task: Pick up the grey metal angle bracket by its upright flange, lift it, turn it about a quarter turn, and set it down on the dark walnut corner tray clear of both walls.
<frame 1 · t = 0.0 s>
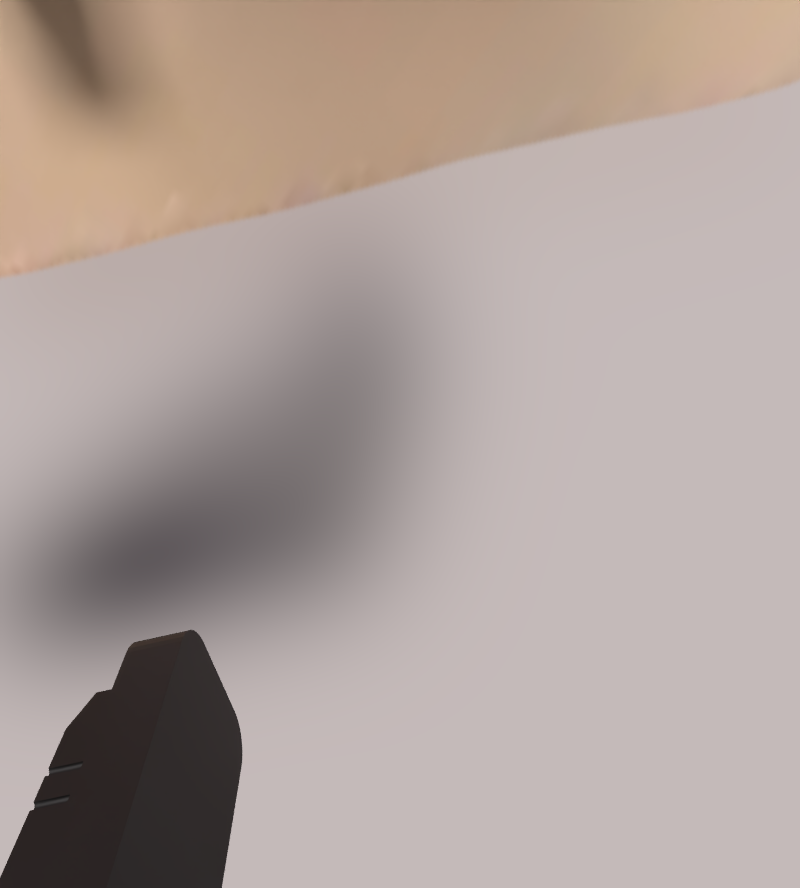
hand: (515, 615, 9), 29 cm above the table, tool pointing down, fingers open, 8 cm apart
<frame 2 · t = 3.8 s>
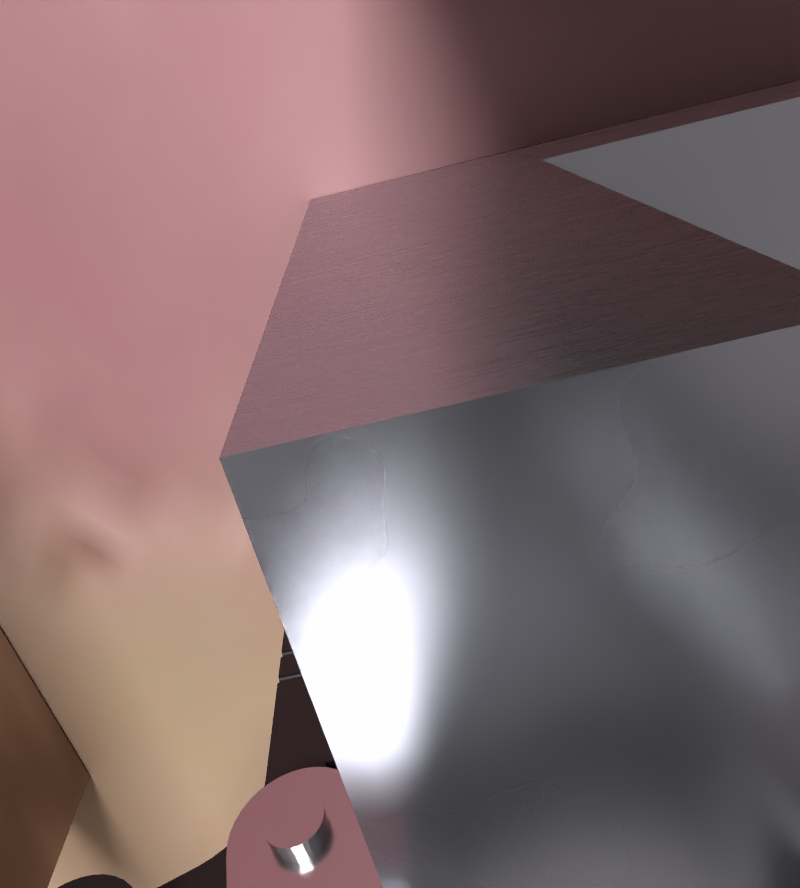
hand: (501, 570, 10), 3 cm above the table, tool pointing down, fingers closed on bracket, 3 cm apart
bracket: (474, 475, 13), on the table, touching gripper
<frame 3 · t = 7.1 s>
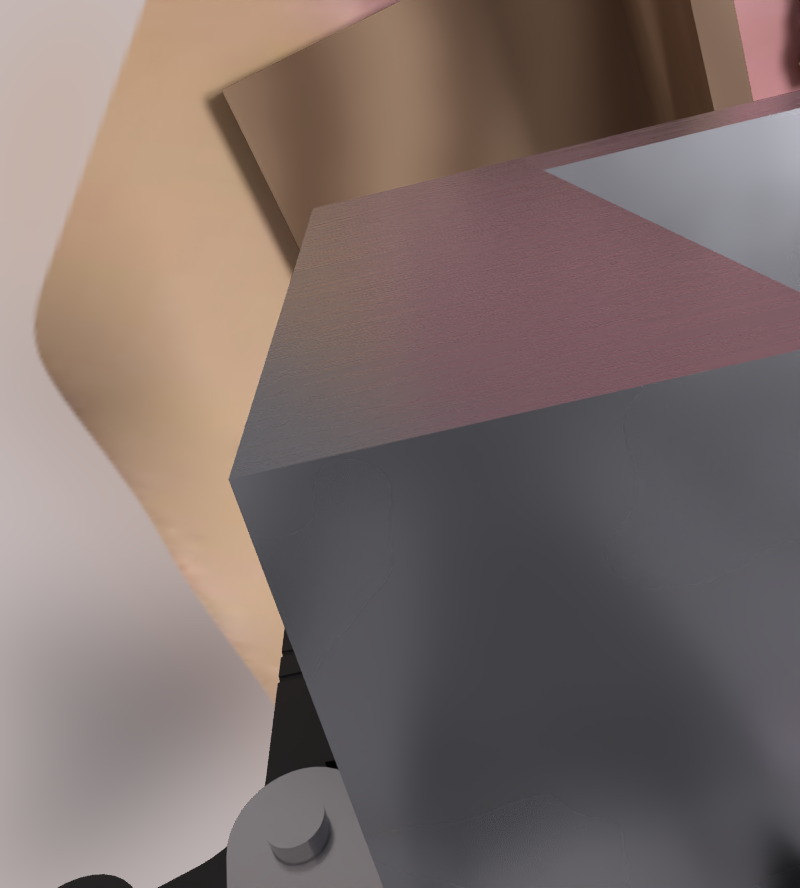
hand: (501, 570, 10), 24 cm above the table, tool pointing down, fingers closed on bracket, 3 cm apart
bracket: (475, 481, 13), point 21 cm above the table, touching gripper
corner arena: (489, 200, 31), on the table
when the fingers open (5 cm above the table, at t = 10.2 s): bracket stays where it is, resting on corner arena.
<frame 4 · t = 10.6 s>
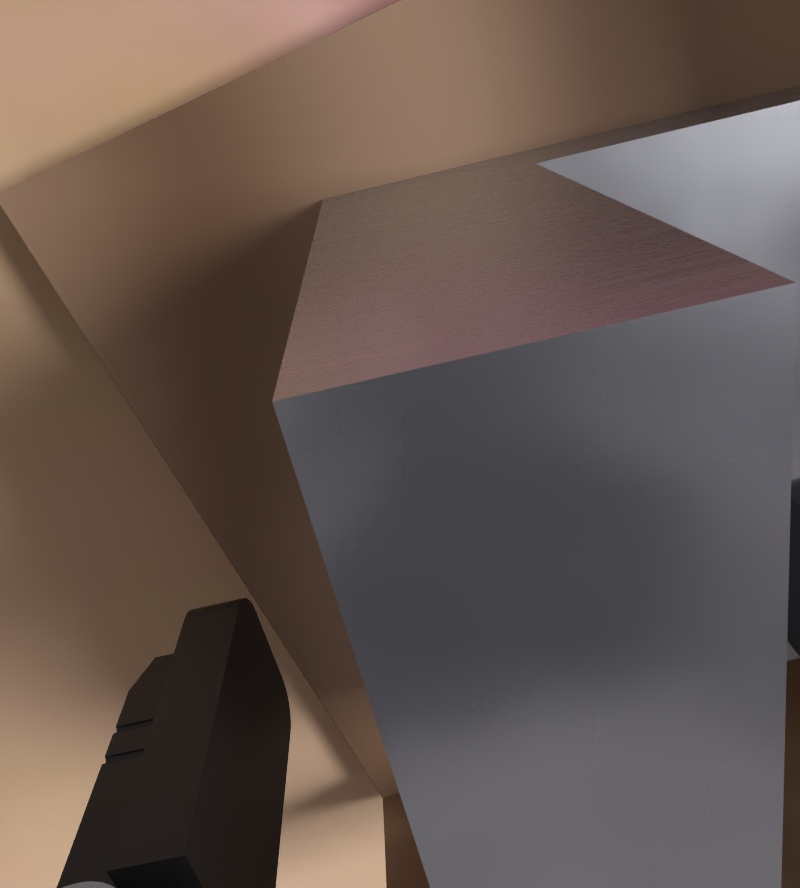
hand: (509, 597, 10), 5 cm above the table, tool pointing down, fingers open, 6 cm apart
bracket: (473, 457, 14), point 1 cm above the table, touching corner arena
corner arena: (619, 414, 14), on the table
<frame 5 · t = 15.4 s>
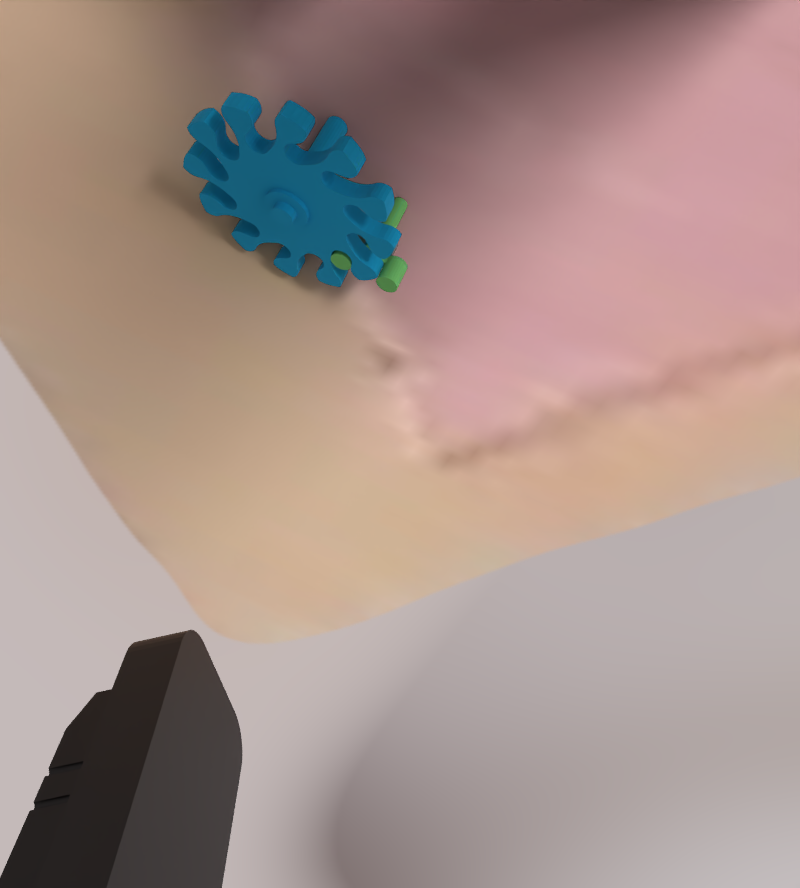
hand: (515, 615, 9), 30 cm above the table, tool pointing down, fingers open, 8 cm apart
gear: (307, 194, 36), on the table
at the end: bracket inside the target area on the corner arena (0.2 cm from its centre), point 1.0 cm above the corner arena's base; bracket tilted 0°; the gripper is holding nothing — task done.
